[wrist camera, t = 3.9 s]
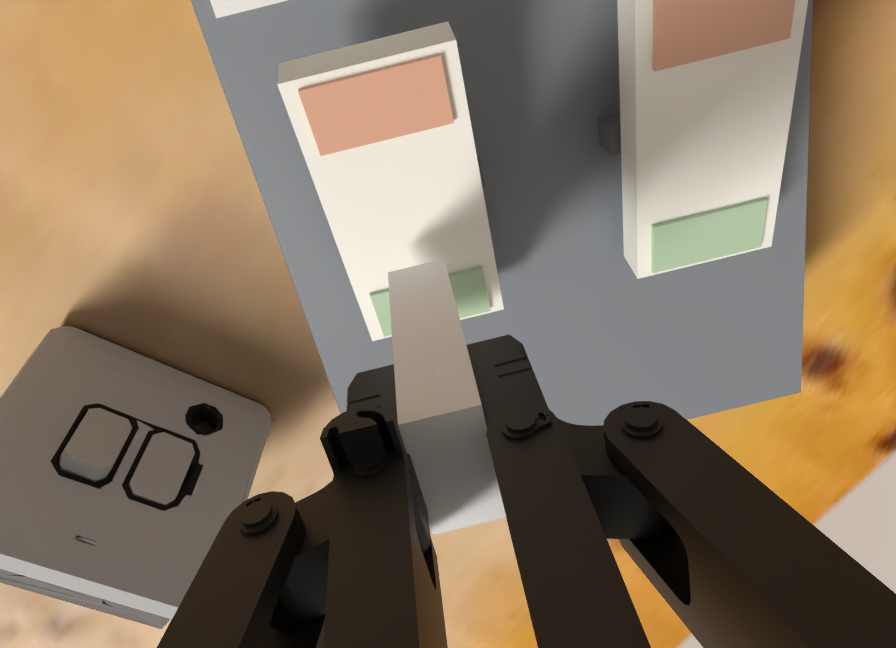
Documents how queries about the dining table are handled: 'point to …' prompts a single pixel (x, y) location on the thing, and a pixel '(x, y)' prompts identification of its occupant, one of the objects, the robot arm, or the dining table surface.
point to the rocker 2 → (703, 125)
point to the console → (532, 208)
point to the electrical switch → (117, 475)
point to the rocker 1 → (395, 165)
